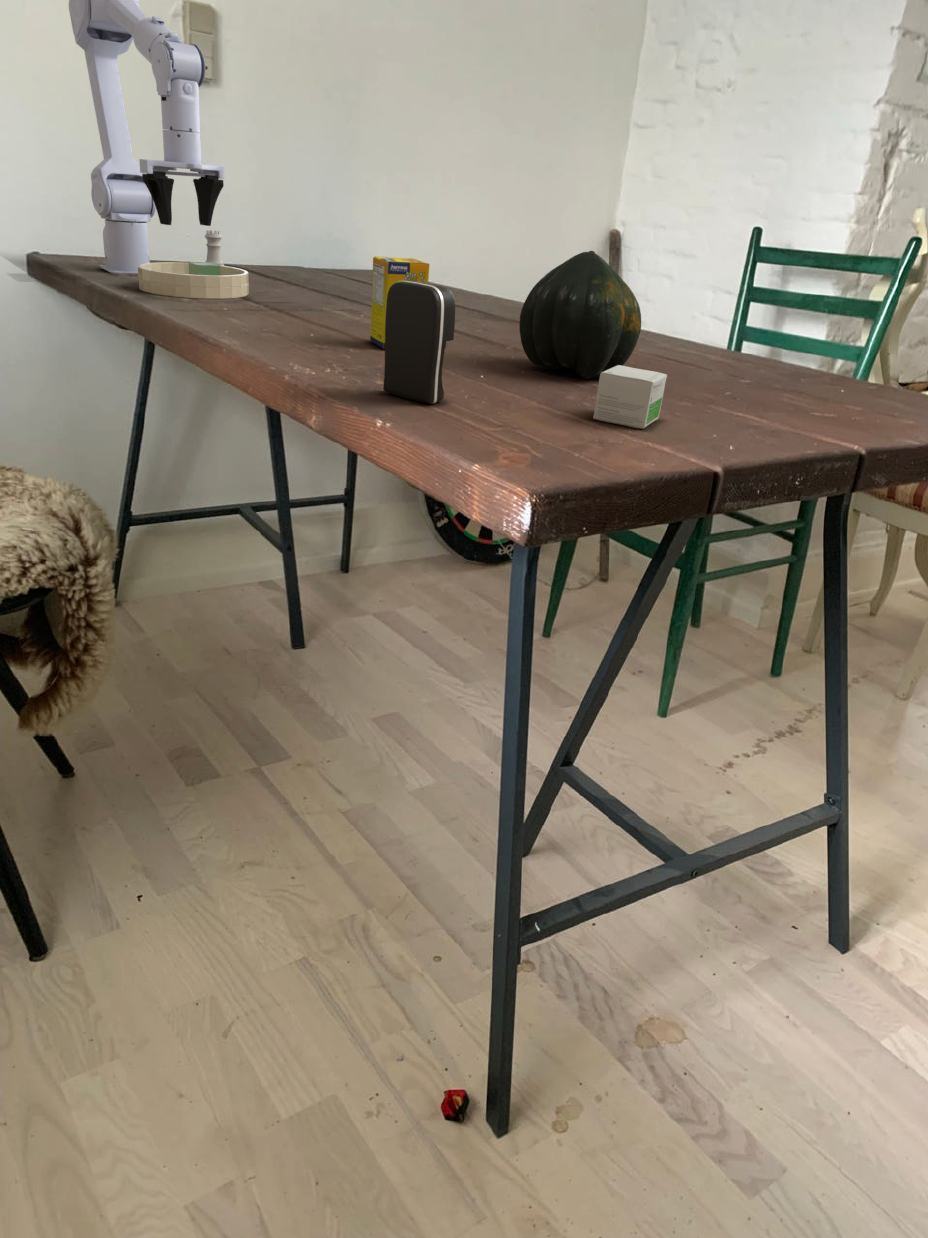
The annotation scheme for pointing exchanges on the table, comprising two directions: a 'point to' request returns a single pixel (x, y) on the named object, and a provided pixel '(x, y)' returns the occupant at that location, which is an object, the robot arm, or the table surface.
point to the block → (204, 268)
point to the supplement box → (382, 280)
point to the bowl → (192, 281)
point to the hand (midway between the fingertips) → (185, 224)
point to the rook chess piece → (214, 247)
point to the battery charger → (417, 339)
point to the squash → (580, 318)
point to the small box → (629, 396)
